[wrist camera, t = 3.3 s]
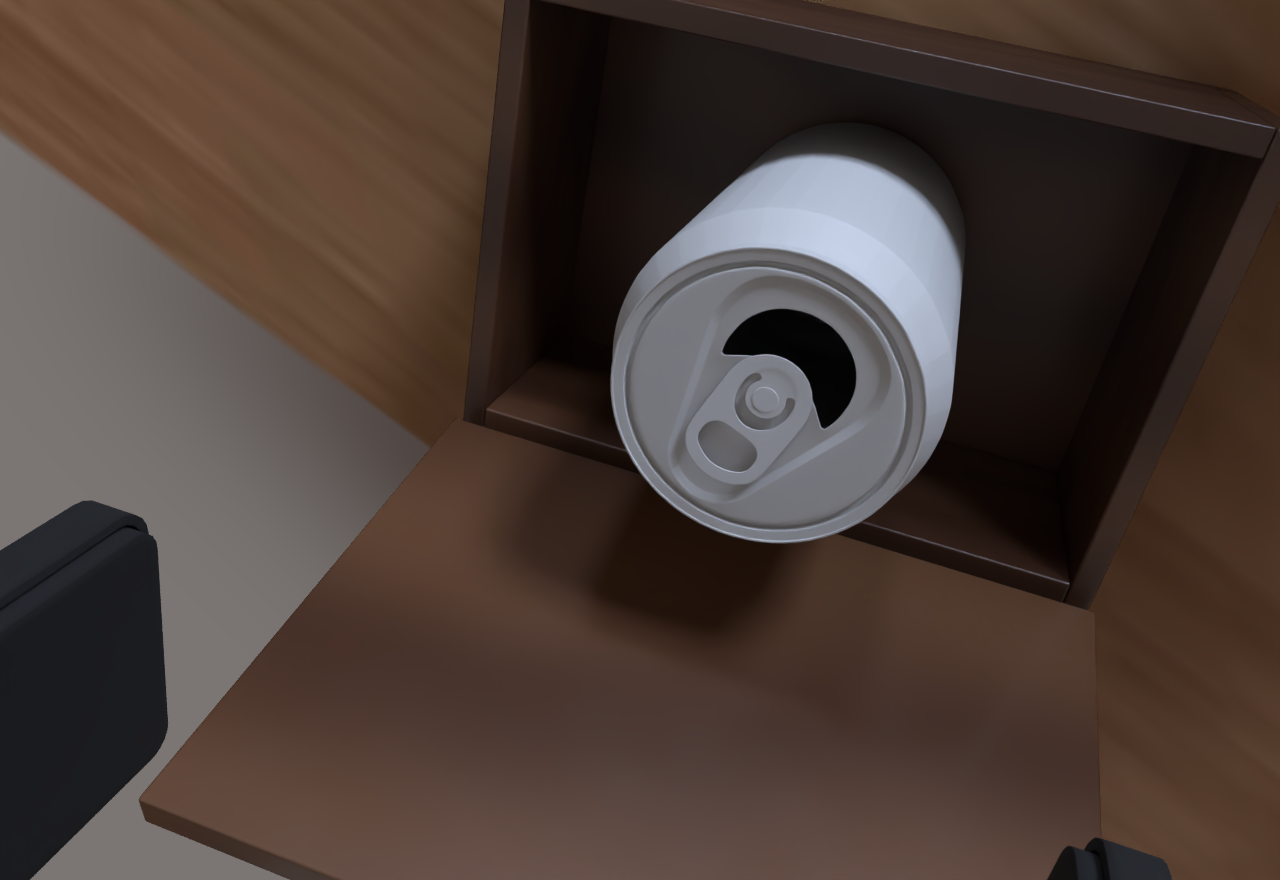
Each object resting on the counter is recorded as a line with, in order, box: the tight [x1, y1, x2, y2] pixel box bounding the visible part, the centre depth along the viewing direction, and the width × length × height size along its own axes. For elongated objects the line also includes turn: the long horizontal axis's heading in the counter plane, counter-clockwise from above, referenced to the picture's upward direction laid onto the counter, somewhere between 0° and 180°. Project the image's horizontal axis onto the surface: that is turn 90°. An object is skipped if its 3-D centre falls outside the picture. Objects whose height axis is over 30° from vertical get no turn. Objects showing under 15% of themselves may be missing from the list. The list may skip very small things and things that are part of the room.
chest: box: [463, 0, 1280, 610], centre depth 26 cm, size 11×16×7 cm
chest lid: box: [139, 419, 1101, 880], centre depth 21 cm, size 12×16×1 cm
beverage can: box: [610, 122, 966, 543], centre depth 23 cm, size 6×6×12 cm
